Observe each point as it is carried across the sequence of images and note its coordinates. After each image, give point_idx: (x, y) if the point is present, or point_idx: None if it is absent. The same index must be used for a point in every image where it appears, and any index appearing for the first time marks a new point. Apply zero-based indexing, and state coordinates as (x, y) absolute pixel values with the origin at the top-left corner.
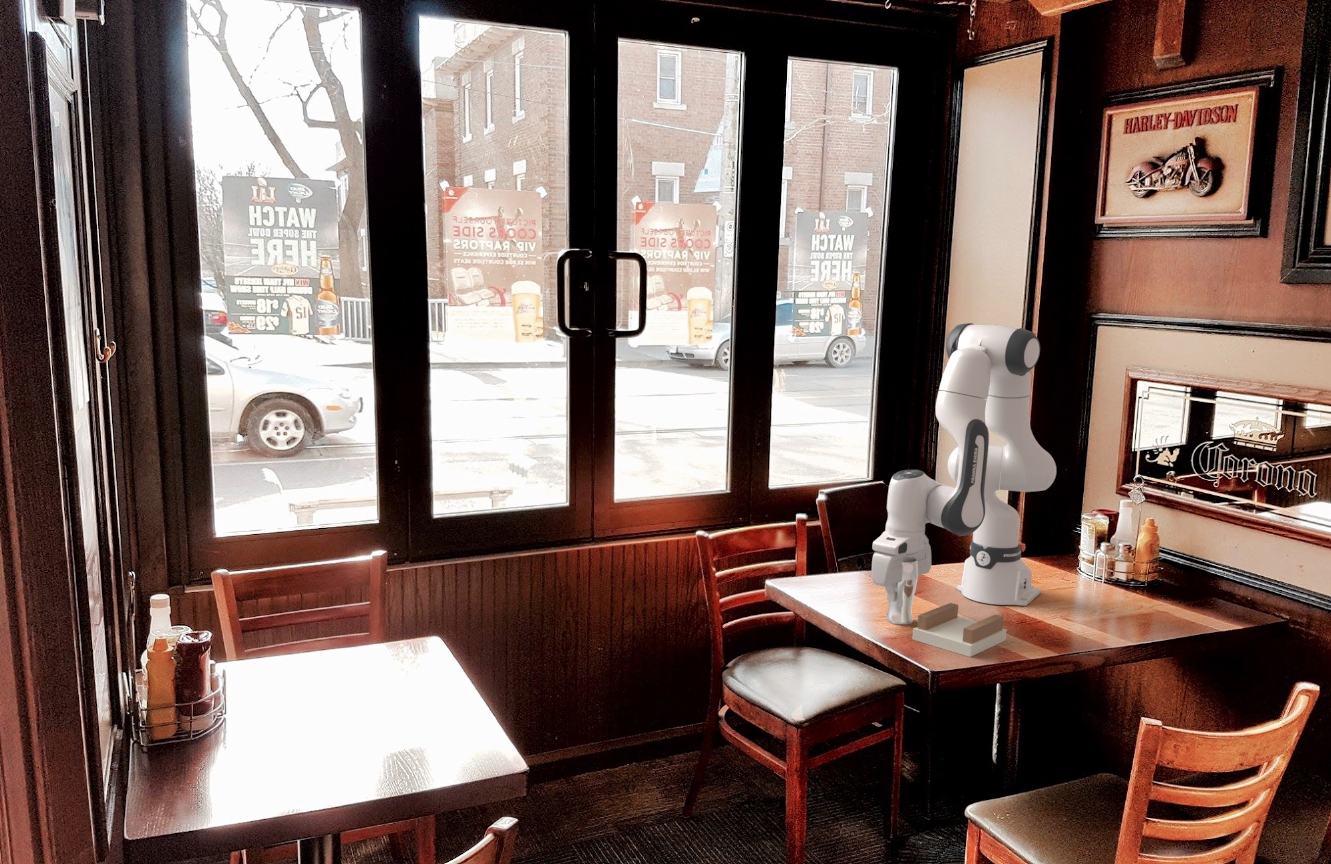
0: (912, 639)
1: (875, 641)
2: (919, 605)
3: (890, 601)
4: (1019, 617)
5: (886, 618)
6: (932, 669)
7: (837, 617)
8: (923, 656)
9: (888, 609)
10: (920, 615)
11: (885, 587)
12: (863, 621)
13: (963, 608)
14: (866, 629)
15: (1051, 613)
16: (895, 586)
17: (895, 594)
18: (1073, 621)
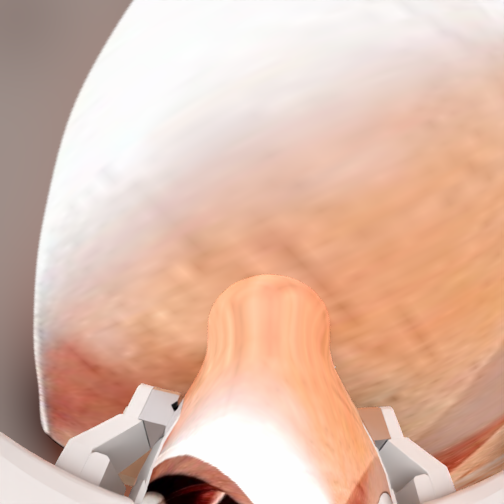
0: (126, 406)
1: (34, 331)
2: (498, 291)
3: (199, 370)
4: (459, 455)
5: (228, 289)
6: (52, 436)
7: (102, 91)
8: (74, 428)
9: (226, 320)
10: (119, 475)
11: (76, 438)
12: (135, 209)
13: (497, 382)
14: (72, 269)
15: (488, 455)
16: (119, 489)
17: (148, 447)
18: (456, 481)
